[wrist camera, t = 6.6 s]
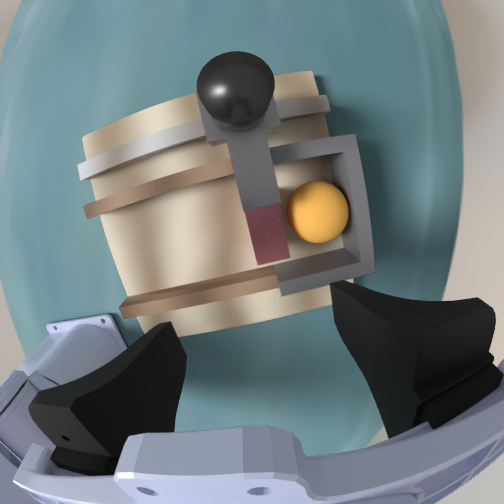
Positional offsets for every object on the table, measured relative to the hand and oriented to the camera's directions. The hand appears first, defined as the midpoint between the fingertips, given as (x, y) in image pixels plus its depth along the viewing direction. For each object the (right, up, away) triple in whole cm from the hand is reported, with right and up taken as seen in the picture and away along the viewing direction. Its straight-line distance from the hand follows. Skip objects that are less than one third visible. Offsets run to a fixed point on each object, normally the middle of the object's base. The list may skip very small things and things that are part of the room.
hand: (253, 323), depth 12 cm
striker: (0, +8, +6) cm, 11 cm away
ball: (+4, +6, +6) cm, 9 cm away
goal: (+4, +6, +8) cm, 10 cm away
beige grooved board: (-3, +6, +8) cm, 11 cm away
